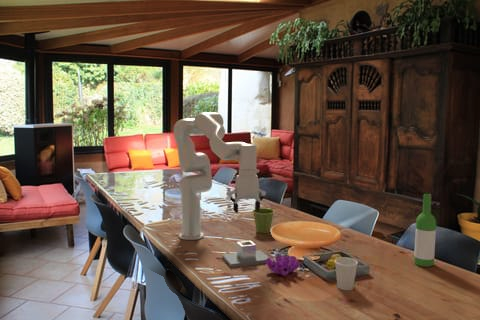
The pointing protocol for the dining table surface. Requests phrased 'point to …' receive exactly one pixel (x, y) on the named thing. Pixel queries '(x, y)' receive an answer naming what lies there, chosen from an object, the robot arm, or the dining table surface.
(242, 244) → the socket
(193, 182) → the robot arm
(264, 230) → the plant pot
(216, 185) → the dining table surface
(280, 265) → the purple bumpy lump
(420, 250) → the wine bottle
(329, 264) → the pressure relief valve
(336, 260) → the dixie cup
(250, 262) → the board
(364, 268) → the grey square tray
